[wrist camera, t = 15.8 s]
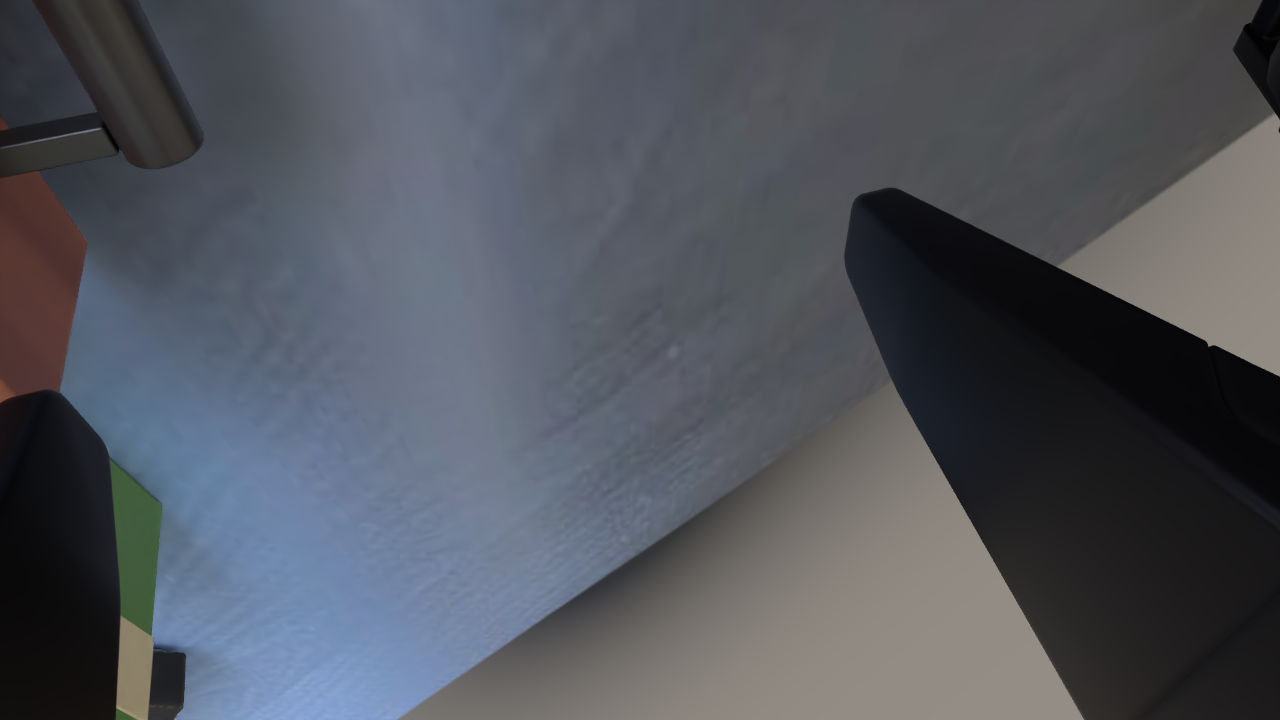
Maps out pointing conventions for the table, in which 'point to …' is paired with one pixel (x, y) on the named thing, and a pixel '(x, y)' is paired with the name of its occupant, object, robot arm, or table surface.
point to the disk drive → (166, 685)
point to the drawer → (11, 160)
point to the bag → (135, 590)
